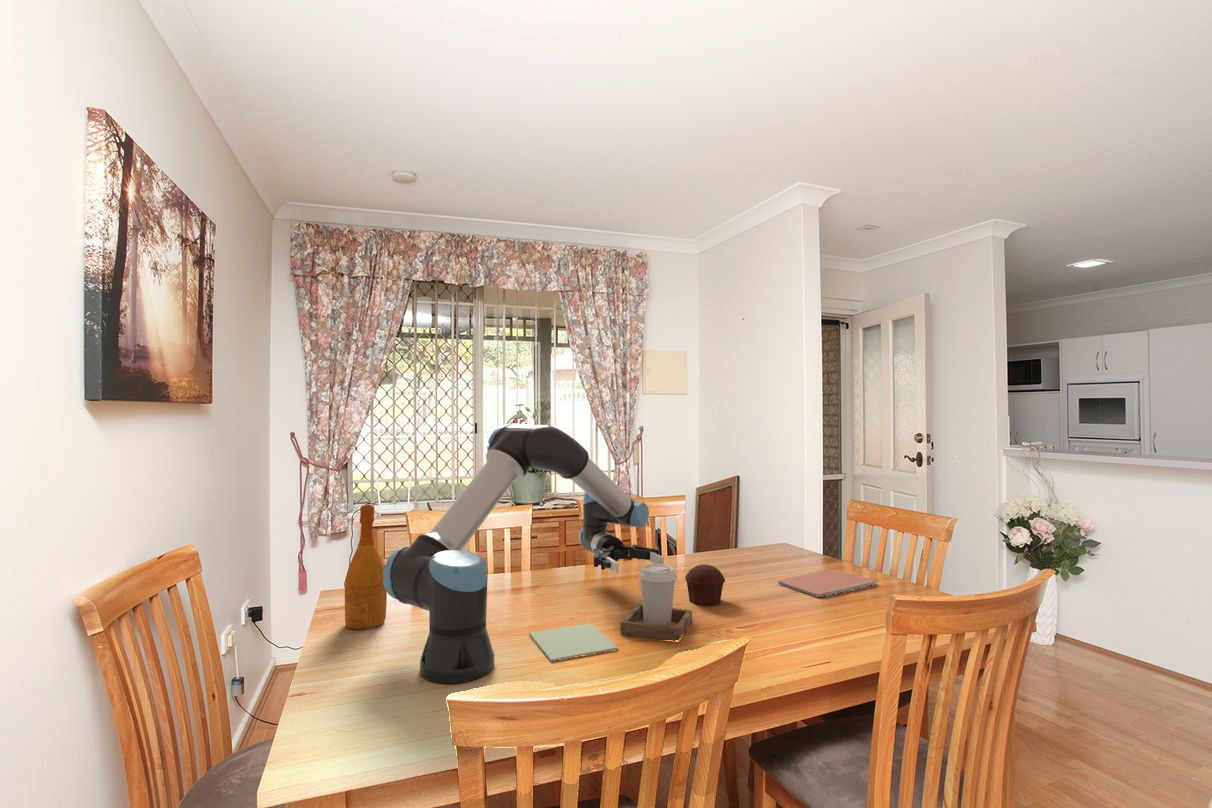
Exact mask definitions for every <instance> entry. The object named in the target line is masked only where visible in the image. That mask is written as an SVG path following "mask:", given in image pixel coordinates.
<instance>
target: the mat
mask: <svg viewBox="0 0 1212 808" xmlns="http://www.w3.org/2000/svg"><path fill="white" fill-rule="evenodd" d="M529 637H530V638H531V640H533V642H534V644H536V645H537V647H538V646H539V647H540V648H539V647H538V648H539V649H540V651H541V652H542V651H543V652H544V653H545V654H544V653H543V652H542V653H543V654H544V655H545V657H546V656H547V657H548V658H547V657H546V658H547V660H548V661H549V662H550V661H554V662H556V661H555V660H559V659H565V658H570V657H575V656H581V655H588V654H593V655H595V654H594V653H599V654H601V653H600V652H604V653H607V652H606V651H610V652H614V651H613V650H616V651H618V650H619V647H618V646H617V645H616V644H615V643H614V642H612V641H611V640H610V639H609V638H608V637H607V636H606V635H605V634H604V633H602V632H601V631H600V630H599V629H598V628H597V627H596V626H595V625H593V624H592V623H586V624H585V623H584V624H578V625H572V626H564V627H558V628H552V629H547V630H546V629H545V630H538V631H533V632H529ZM588 656H589V655H588ZM565 660H566V659H565Z"/></svg>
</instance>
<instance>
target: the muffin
mask: <svg viewBox="0 0 1212 808" xmlns="http://www.w3.org/2000/svg"><path fill="white" fill-rule="evenodd" d="M684 578H685V579H684V580H685V581H686V584H687V593H688V600H689V601H688V602H690V603H692V604H693V605H697V606H700V605H701V607H715V606H718V605H720V604H721V600H722V594H723V593H722V592H723V586H724V583H725V581H726V579H725V576H724V575H723V574H722V572H721V571H720V569H719V568H717V567H715V566H713V565H711V564H698V565H696V566H694V567H692V568H691V569H690V570H688V572H687V574H686V575H685V576H684Z"/></svg>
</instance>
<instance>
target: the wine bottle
mask: <svg viewBox="0 0 1212 808" xmlns="http://www.w3.org/2000/svg"><path fill="white" fill-rule="evenodd" d="M359 512H360V513H359V514H360V515H359V523H360V536H359V542H358V543H357V548H356V550H355V552H354V554H353V556H352V559H351V561H350V563H349V565H348V569H347V571H346V575H345V581H344V621H345V622H344V623H345V626H346V627H348V628H349V629H352V630H368V629H373V628H376V627H379V626H380V625H382V624H383V623H384V622H385V621H386V617H387V602H388V601H387V599H388V593H387V591H386V589H385V587H384V583H383V577H384V576H383V570H384V567H385V564H384V561H383V559H382V557H381V555H380V553H379V551H378V548H377V545H376V544H375V538H374V533H373V526H374V522H375V507H374V505H373V504H363V505H361V506H360V507H359Z"/></svg>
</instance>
